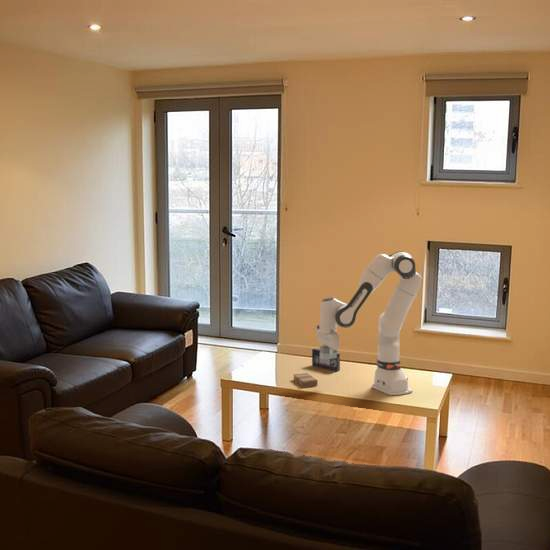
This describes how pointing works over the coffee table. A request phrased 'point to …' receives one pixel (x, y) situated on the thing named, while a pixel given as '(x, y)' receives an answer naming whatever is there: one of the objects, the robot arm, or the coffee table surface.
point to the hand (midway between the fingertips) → (328, 353)
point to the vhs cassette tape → (325, 361)
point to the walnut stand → (305, 380)
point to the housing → (325, 354)
